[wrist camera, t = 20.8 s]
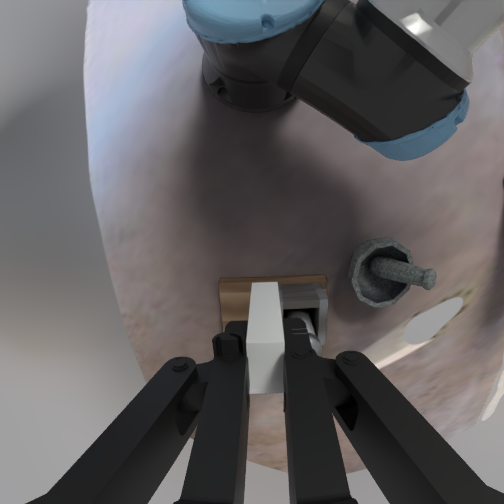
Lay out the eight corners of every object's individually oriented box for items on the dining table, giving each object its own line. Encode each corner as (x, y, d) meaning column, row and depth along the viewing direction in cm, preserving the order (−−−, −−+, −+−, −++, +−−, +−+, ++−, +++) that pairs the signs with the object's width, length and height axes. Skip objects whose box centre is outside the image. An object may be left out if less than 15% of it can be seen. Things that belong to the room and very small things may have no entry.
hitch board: (220, 278, 46) (211, 299, 38) (324, 274, 45) (335, 295, 37) (230, 379, 51) (226, 409, 43) (317, 376, 50) (324, 405, 42)
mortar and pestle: (341, 293, 46) (363, 330, 34) (336, 236, 43) (361, 259, 32) (403, 281, 45) (438, 312, 33) (402, 226, 42) (442, 244, 31)
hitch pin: (307, 290, 46) (323, 337, 32) (306, 313, 47) (320, 365, 33) (281, 291, 46) (288, 339, 32) (281, 314, 47) (288, 367, 33)
